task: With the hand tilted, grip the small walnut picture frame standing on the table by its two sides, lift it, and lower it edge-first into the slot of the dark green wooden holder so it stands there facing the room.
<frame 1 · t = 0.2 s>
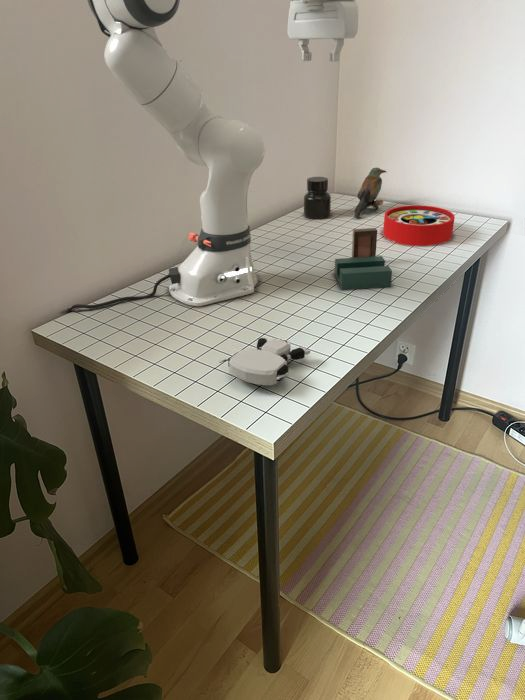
hand: (320, 61, 131), 48 cm above the table, tool pointing down, fingers open, 8 cm apart
ink bottle: (317, 216, 185), on the table
robot toy: (267, 371, 104), on the table
bird figurine: (369, 211, 187), on the table
frame: (363, 262, 148), on the table
toy clock: (417, 234, 165), on the table
holder: (361, 280, 138), on the table
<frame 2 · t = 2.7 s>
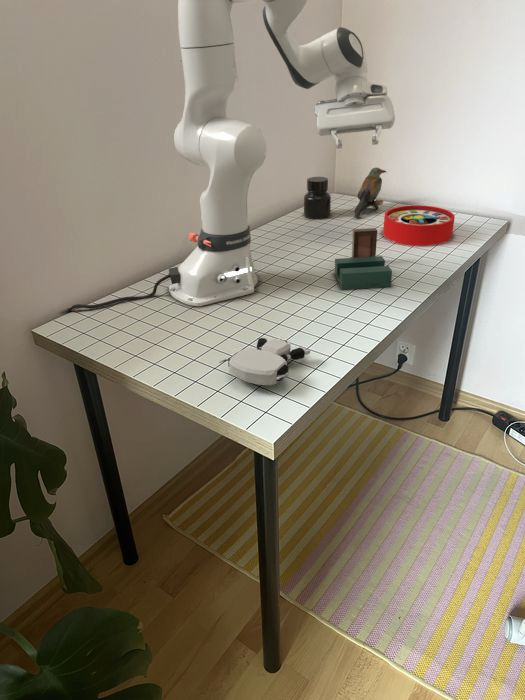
hand: (357, 145, 144), 28 cm above the table, tool tilted 40°, fingers open, 8 cm apart
nothing on the table moved.
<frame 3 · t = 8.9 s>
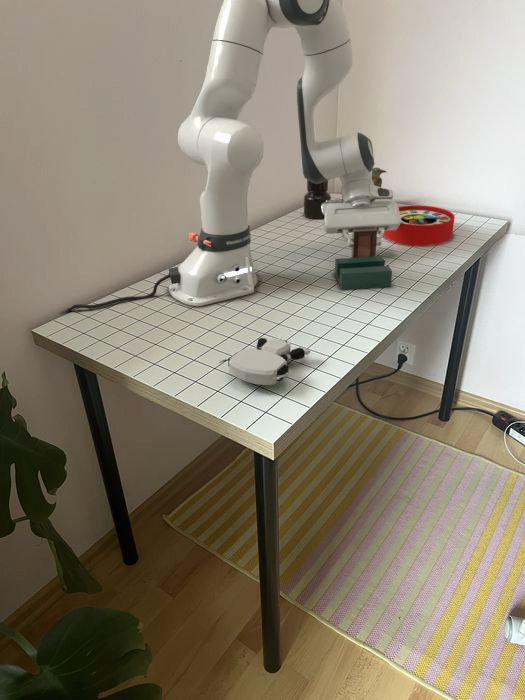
hand: (364, 245, 145), 5 cm above the table, tool tilted 45°, fingers closed on frame, 6 cm apart
frame: (363, 262, 148), on the table, touching gripper
everything else where it was.
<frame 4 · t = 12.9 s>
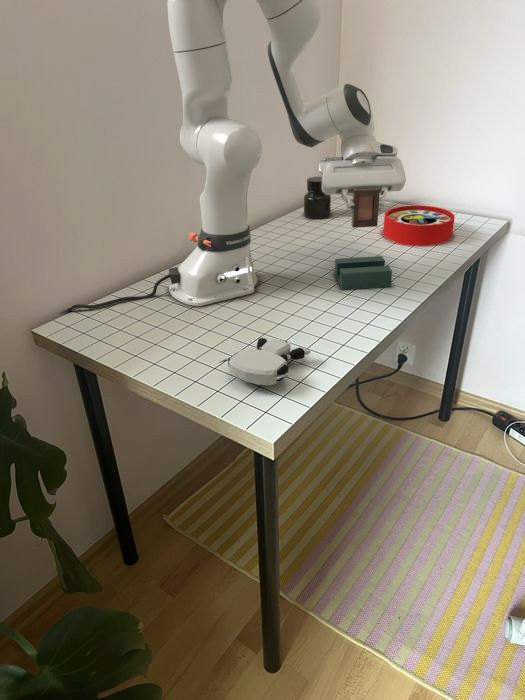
hand: (366, 206, 133), 17 cm above the table, tool tilted 45°, fingers closed on frame, 6 cm apart
frame: (364, 225, 136), point 12 cm above the table, touching gripper
everything else where it was.
when the fingers open (6 cm above the table, at t = 17.3 s): frame stays where it is, resting on holder.
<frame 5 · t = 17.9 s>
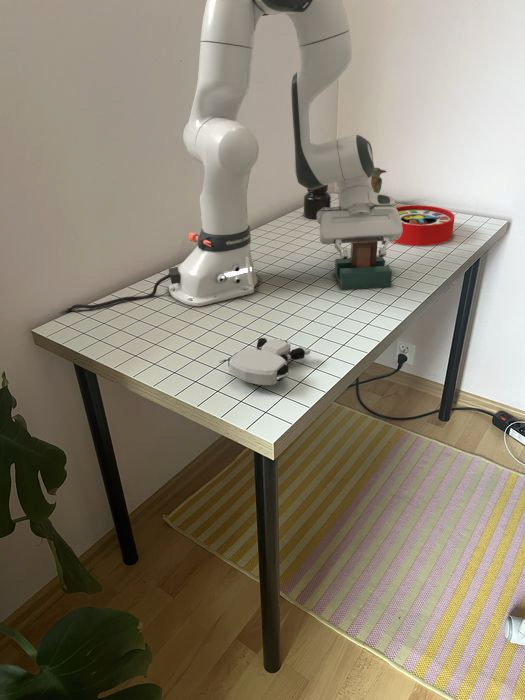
hand: (363, 257, 134), 6 cm above the table, tool tilted 45°, fingers open, 8 cm apart
frame: (362, 275, 137), point 1 cm above the table, touching holder
everything else where it was.
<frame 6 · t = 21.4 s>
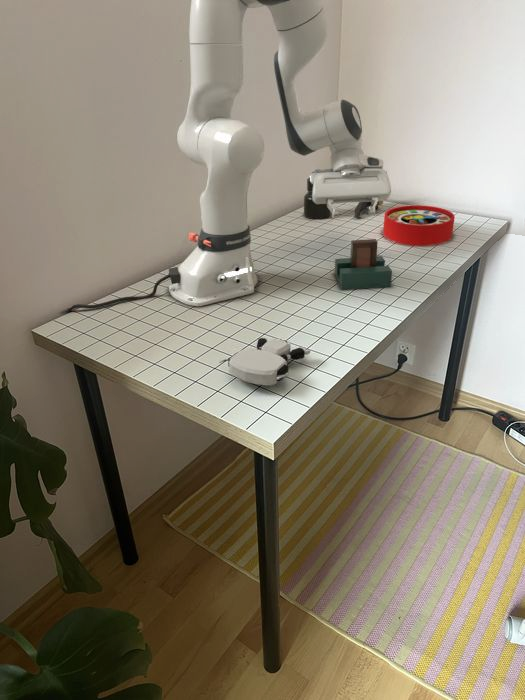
hand: (354, 215, 142), 13 cm above the table, tool tilted 45°, fingers open, 8 cm apart
nothing on the table moved.
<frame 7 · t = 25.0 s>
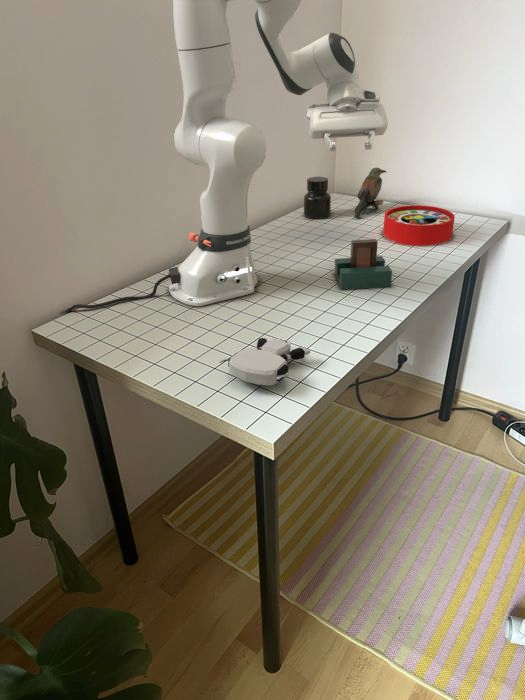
hand: (350, 149, 142), 27 cm above the table, tool tilted 45°, fingers open, 8 cm apart
nothing on the table moved.
at the end: frame inside the target area on the holder (0.1 cm from its centre), point 1.2 cm above the holder's base; frame tilted 0°; the gripper is holding nothing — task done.
